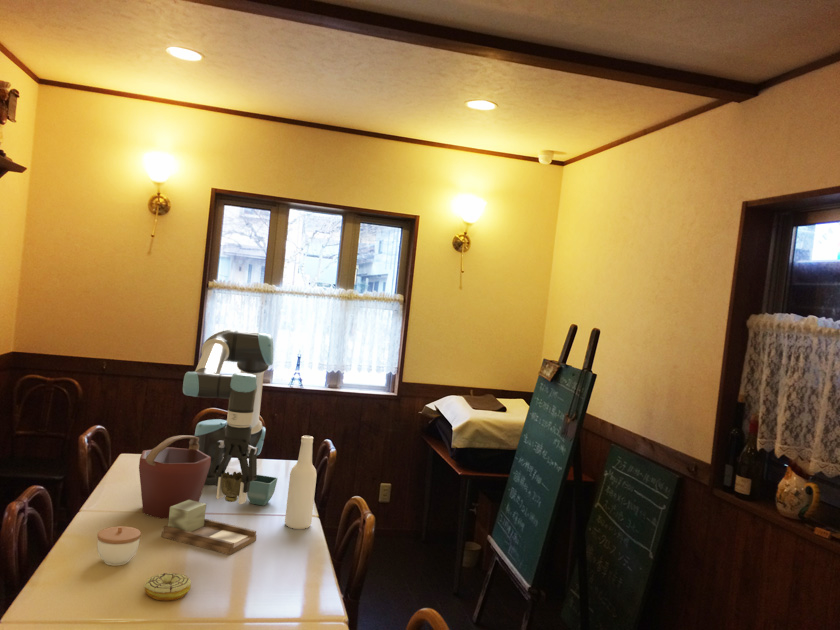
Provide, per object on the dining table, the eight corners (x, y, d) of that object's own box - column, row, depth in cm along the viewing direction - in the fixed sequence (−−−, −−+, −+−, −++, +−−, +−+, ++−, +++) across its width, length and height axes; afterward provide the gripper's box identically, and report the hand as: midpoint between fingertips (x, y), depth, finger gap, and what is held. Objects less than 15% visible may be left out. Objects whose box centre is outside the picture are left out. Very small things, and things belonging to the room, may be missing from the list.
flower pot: (275, 501, 247) (278, 477, 247) (267, 508, 238) (270, 483, 238) (252, 498, 248) (255, 474, 248) (243, 505, 239) (246, 480, 239)
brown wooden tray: (161, 536, 202) (164, 509, 202) (191, 523, 215) (193, 497, 215) (229, 554, 194) (233, 525, 194) (256, 540, 208) (259, 513, 207)
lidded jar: (90, 556, 183) (94, 522, 182) (132, 551, 189) (135, 518, 189) (99, 572, 174) (103, 536, 174) (142, 565, 181) (146, 531, 180)
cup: (220, 505, 197) (223, 478, 197) (216, 497, 204) (219, 471, 204) (246, 504, 201) (249, 477, 201) (240, 496, 207) (243, 471, 207)
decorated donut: (163, 581, 174) (165, 566, 174) (198, 591, 170) (200, 576, 170) (134, 595, 164) (136, 580, 164) (171, 607, 160) (172, 591, 160)
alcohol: (314, 528, 223) (324, 439, 223) (289, 530, 219) (299, 439, 218) (305, 519, 231) (314, 433, 230) (280, 521, 226) (290, 433, 226)
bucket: (181, 495, 242) (188, 427, 241) (221, 512, 229) (229, 439, 229) (118, 508, 221) (126, 433, 221) (158, 527, 209) (166, 448, 208)
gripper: (203, 421, 202) (195, 496, 202) (261, 432, 195) (252, 510, 196) (218, 418, 209) (210, 491, 209) (274, 428, 203) (266, 503, 203)
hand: (230, 500), depth 202 cm, fingers closed on cup, 7 cm apart
